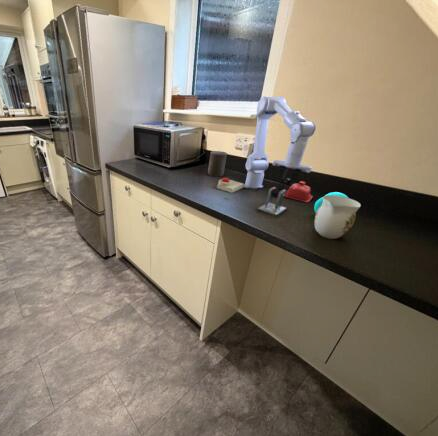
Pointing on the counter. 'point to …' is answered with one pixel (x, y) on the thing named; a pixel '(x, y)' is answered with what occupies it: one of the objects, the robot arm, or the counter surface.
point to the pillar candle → (217, 163)
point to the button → (225, 179)
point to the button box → (230, 185)
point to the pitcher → (335, 216)
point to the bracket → (273, 208)
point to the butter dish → (299, 192)
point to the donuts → (320, 201)
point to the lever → (276, 191)
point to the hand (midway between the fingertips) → (285, 184)
